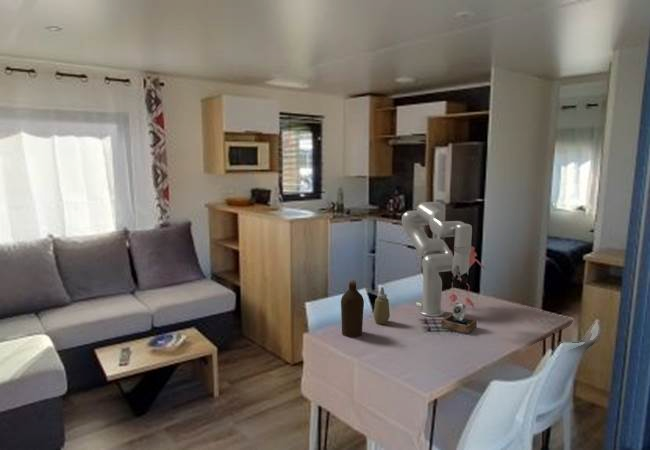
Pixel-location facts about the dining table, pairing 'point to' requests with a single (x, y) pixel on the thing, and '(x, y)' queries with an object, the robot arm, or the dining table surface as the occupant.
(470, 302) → the figurine
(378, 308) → the squeeze bottle
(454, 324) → the wooden tray
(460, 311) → the watch
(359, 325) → the olive oil
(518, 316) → the dining table surface
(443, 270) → the robot arm
